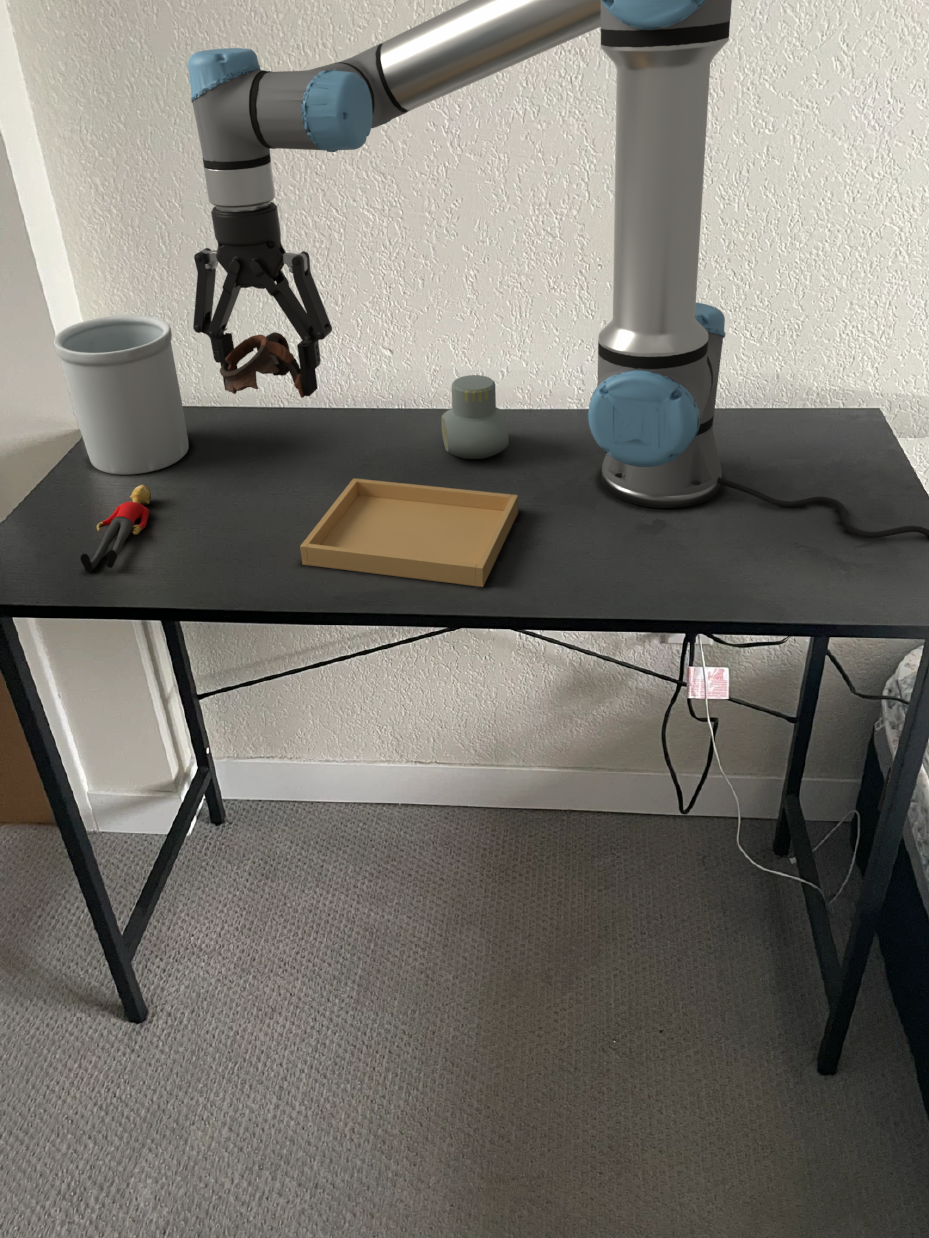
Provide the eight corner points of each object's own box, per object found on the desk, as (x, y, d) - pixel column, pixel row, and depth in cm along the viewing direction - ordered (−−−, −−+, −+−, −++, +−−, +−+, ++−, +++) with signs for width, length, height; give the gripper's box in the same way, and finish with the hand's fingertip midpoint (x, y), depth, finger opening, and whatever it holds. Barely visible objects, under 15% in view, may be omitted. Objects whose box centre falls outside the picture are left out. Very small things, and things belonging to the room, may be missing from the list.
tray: (518, 512, 127) (518, 495, 126) (483, 587, 113) (482, 568, 112) (355, 495, 132) (353, 478, 131) (302, 564, 118) (299, 546, 117)
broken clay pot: (307, 410, 125) (265, 360, 120) (247, 438, 129) (204, 391, 124) (322, 353, 133) (283, 303, 127) (265, 381, 137) (225, 334, 131)
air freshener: (511, 465, 138) (511, 395, 132) (450, 470, 137) (447, 400, 132) (497, 432, 147) (497, 365, 141) (440, 437, 146) (437, 370, 141)
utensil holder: (179, 477, 138) (153, 350, 128) (70, 478, 138) (36, 353, 128) (204, 431, 150) (182, 313, 140) (104, 433, 150) (75, 315, 140)
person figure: (75, 540, 115) (126, 468, 130) (72, 568, 118) (123, 494, 132) (120, 552, 116) (166, 479, 131) (116, 580, 118) (162, 505, 133)
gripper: (347, 198, 117) (365, 384, 129) (170, 194, 122) (204, 373, 135) (323, 214, 111) (344, 407, 123) (138, 209, 116) (176, 394, 129)
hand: (271, 389), depth 129 cm, fingers closed on broken clay pot, 10 cm apart
